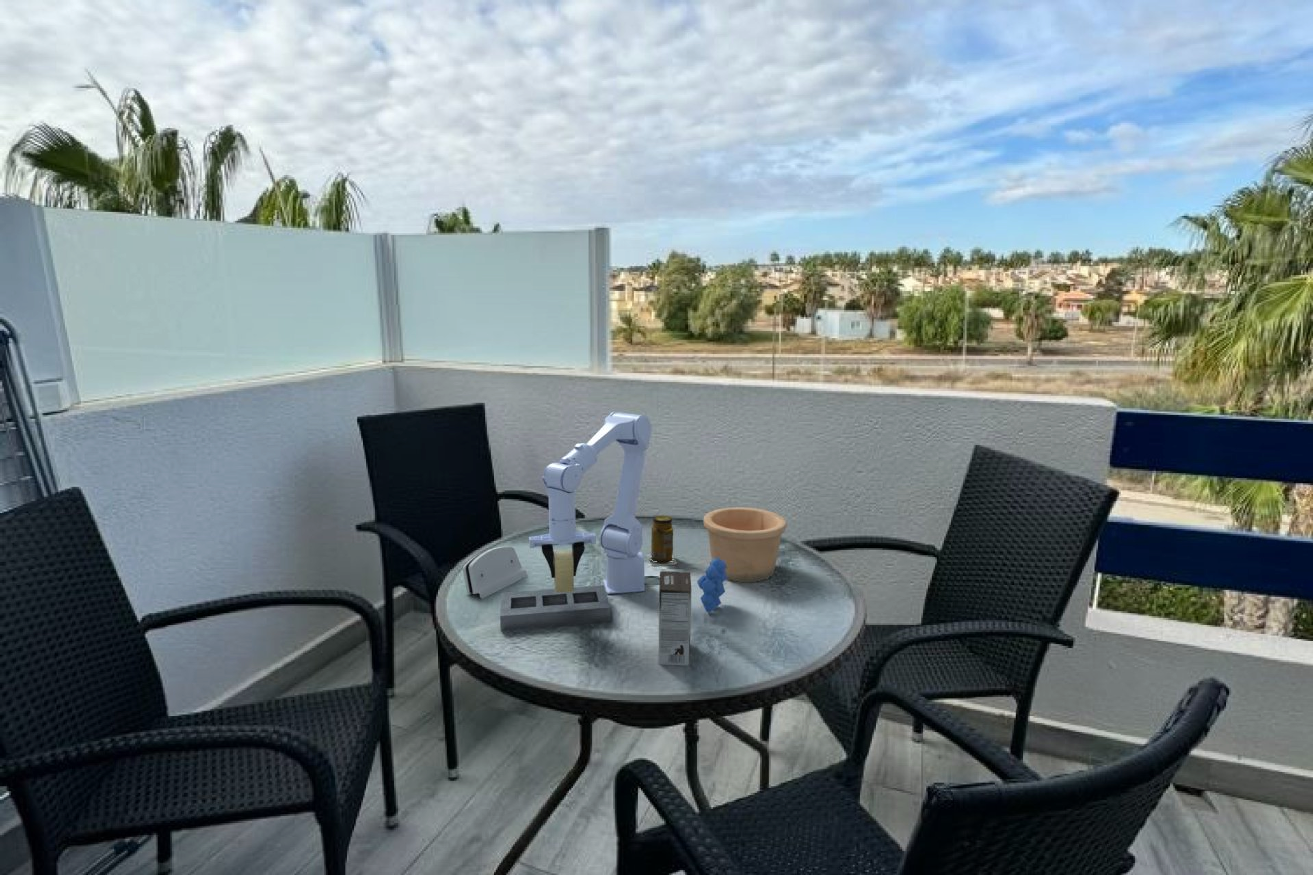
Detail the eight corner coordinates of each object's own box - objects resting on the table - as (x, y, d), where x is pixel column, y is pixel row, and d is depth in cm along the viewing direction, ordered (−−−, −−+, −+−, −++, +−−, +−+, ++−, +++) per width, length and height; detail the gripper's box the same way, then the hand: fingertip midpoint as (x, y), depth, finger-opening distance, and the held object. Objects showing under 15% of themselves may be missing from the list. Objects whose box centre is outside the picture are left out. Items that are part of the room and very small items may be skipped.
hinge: (481, 599, 158) (469, 559, 157) (468, 601, 160) (456, 561, 160) (528, 575, 172) (517, 539, 172) (515, 577, 174) (505, 541, 174)
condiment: (671, 553, 188) (671, 513, 186) (678, 564, 180) (679, 522, 178) (646, 555, 187) (646, 514, 184) (652, 566, 178) (652, 524, 176)
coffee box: (658, 642, 138) (659, 570, 135) (689, 642, 138) (690, 570, 135) (657, 665, 129) (658, 588, 126) (690, 666, 129) (691, 589, 126)
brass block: (572, 583, 149) (571, 550, 147) (573, 591, 145) (573, 557, 143) (554, 584, 148) (553, 551, 146) (555, 592, 144) (554, 558, 142)
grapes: (705, 594, 161) (706, 548, 159) (731, 600, 158) (733, 553, 156) (686, 614, 151) (687, 565, 148) (714, 620, 148) (715, 570, 146)
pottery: (767, 593, 162) (770, 538, 159) (688, 575, 173) (689, 523, 170) (795, 564, 181) (797, 515, 178) (722, 549, 191) (723, 502, 188)
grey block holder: (604, 598, 158) (603, 585, 158) (610, 621, 147) (610, 607, 146) (502, 606, 154) (501, 592, 153) (500, 631, 142) (500, 616, 142)
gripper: (529, 525, 138) (530, 585, 141) (597, 520, 141) (598, 579, 144) (528, 514, 145) (530, 572, 148) (593, 511, 148) (594, 567, 151)
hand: (563, 575), depth 146 cm, fingers closed on brass block, 4 cm apart
